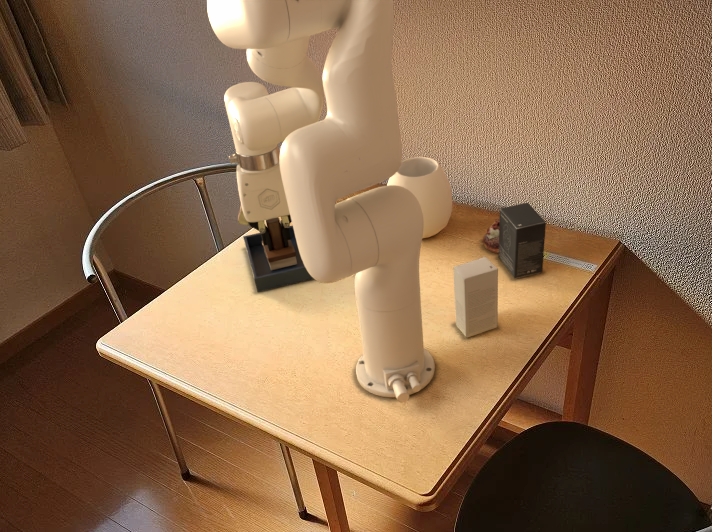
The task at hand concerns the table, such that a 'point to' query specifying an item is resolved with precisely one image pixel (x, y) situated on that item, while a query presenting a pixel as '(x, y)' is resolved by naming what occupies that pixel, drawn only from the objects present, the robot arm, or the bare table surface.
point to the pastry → (492, 237)
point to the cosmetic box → (476, 296)
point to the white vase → (427, 191)
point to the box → (521, 240)
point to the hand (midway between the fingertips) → (277, 244)
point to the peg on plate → (278, 247)
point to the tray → (261, 267)
